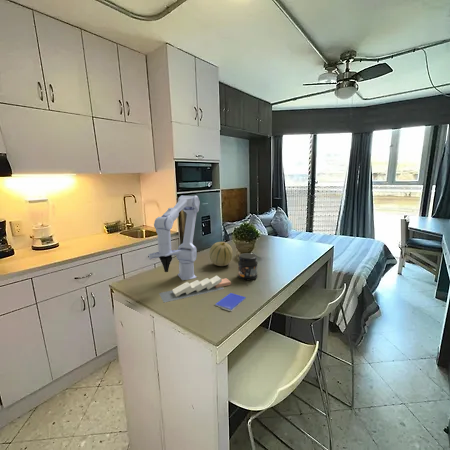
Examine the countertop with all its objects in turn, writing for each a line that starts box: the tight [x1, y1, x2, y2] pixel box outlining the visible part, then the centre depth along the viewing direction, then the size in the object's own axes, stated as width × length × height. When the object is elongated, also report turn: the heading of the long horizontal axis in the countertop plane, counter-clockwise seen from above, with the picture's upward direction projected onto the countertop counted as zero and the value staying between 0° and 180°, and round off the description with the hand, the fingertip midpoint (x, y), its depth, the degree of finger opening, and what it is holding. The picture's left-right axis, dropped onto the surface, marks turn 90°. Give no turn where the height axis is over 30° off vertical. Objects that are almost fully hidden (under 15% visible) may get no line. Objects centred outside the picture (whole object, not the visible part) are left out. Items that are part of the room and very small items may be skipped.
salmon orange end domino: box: [215, 277, 232, 288], centre depth 125 cm, size 5×2×8 cm
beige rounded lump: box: [208, 241, 234, 267], centre depth 152 cm, size 15×15×15 cm
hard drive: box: [214, 292, 246, 312], centre depth 108 cm, size 2×8×12 cm
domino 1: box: [171, 281, 192, 297], centre depth 116 cm, size 5×2×8 cm
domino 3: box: [196, 277, 212, 292], centre depth 121 cm, size 5×2×8 cm
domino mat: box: [158, 286, 225, 303], centre depth 119 cm, size 10×29×1 cm, turn 116°
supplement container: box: [237, 252, 258, 281], centre depth 134 cm, size 10×10×12 cm
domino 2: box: [185, 279, 202, 294], centre depth 118 cm, size 5×2×8 cm
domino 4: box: [206, 274, 222, 290], centre depth 123 cm, size 5×2×8 cm
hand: (166, 271), depth 117 cm, fingers closed
